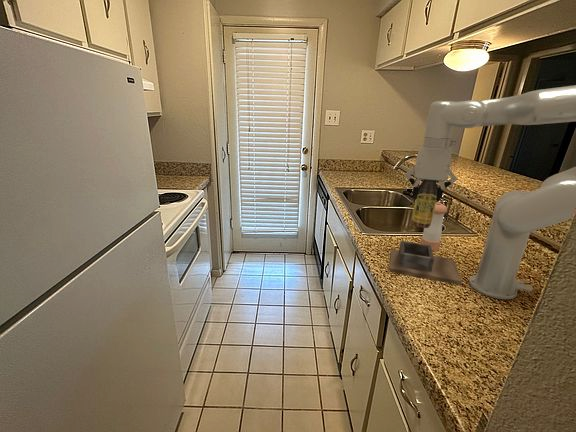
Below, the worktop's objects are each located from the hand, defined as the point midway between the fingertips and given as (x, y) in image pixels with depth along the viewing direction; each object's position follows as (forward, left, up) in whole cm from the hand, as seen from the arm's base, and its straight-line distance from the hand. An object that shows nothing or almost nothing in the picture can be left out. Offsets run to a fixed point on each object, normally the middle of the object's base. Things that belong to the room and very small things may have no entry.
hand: (426, 198), depth 96 cm
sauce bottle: (0, 0, -10) cm, 10 cm away
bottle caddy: (-3, 0, -25) cm, 25 cm away
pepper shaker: (-7, -20, -25) cm, 33 cm away
